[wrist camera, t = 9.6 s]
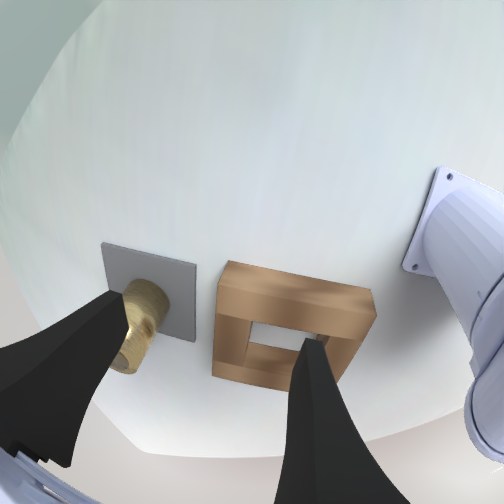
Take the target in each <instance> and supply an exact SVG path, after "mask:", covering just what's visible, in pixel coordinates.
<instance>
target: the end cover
mask: <svg viewBox="0 0 504 504" xmlns="http://www.w3.org/2000/svg"><path fill="white" fill-rule="evenodd" d="M121 294H122V296H123V301H124V306H125V311H126V315H127V320H128V324H129V331H128V333H127V336H126V338H125V340H124V342H123V344H122V347H121V349H120V350H119V352H118V354H117V355H116V357H115V359H114V360H113V362H112V364H111V365H110V368H112V369H114V370H116V371H118V372H121V373H124V374H134V373H135V372H136V371H137V369H138V368H139V366H140V364H141V362H142V360H143V358H144V356H145V354H146V352H147V350H148V348H149V347H150V345H151V343H152V341H153V339H154V337H155V335H156V333H157V332H158V330H159V328H160V326H161V324H162V322H163V321H164V319H165V317H166V315H167V313H168V312H169V309H170V301H169V299H168V297H167V295H166V293H165V292H164V291H163V290H162V289H161V288H160V287H159V286H158V285H156V284H155V283H153V282H151V281H149V280H145V279H135V280H132V281H131V282H130V283H129V284H128V286H127V287H126V288H125V289H124V291H123V292H122V293H121Z"/></svg>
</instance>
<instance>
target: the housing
mask: <svg viewBox="0 0 504 504" xmlns="http://www.w3.org/2000/svg"><path fill="white" fill-rule="evenodd" d="M376 317H377V314H376V310H375V305H374V301H373V298H372V294H371V290H370V289H366V288H361V287H356V286H351V285H346V284H341V283H336V282H331V281H326V280H321V279H316V278H311V277H306V276H301V275H296V274H291V273H286V272H282V271H277V270H272V269H267V268H262V267H257V266H253V265H248V264H243V263H238V262H234V261H228V263H227V265H226V267H225V269H224V272H223V274H222V276H221V278H220V280H219V283H218V287H217V301H216V315H215V330H214V346H213V363H212V376H215V377H219V378H223V379H227V380H231V381H235V382H240V383H244V384H249V385H254V386H259V387H264V388H269V389H274V390H280V391H286V392H289V388H290V381H291V375H292V370H293V367H294V365H295V363H296V360H297V358H298V355H299V353H300V352H298V351H292V350H287V349H281V348H276V347H271V346H266V345H261V344H256V343H252V342H249V338H250V333H251V328H252V323H253V321H255V322H260V323H264V324H269V325H274V326H279V327H284V328H289V329H294V330H300V331H305V332H311V333H317V334H318V336H317V339H316V340H320V341H322V342H323V343H324V347H325V351H326V354H327V357H328V361H329V364H330V367H331V370H332V373H333V375H334V378H335V381H336V384H337V382H338V381H339V379H340V378H341V376H342V374H343V373H344V371H345V370H346V368H347V367H348V365H349V363H350V362H351V360H352V359H353V357H354V355H355V354H356V352H357V350H358V349H359V347H360V345H361V343H362V342H363V340H364V338H365V337H366V335H367V333H368V331H369V329H370V328H371V326H372V324H373V322H374V320H375V318H376Z"/></svg>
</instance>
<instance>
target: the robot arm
mask: <svg viewBox="0 0 504 504" xmlns="http://www.w3.org/2000/svg"><path fill="white" fill-rule="evenodd" d="M449 173H450V174H451V176H450V178H449V179H447V175H448V174H449ZM415 264H417V265H416V267H413V265H415ZM402 266H403V268H404V270H405V271H407V272H412V273H416V274H420V275H425V276H429V277H434V278H437V279H438V281H439V283H440V285H441V286H442V288H443V290H444V292H445V294H446V296H447V298H448V299H449V301H450V303H451V305H452V307H453V309H454V311H455V313H456V315H457V317H458V319H459V321H460V323H461V325H462V327H463V330H464V332H465V334H466V336H467V338H468V341H469V343H470V345H471V347H472V350H473V356H472V359H471V361H470V363H469V364H470V366H471V369H472V372H473V374H474V377H475V380H474V382H473V383H472V385H471V386H470V388H469V390H468V393H467V396H466V399H465V404H464V418H465V424H466V429H467V431H468V434H469V437H470V439H471V441H472V442H473V444H474V446H475V447H476V448H477V449H478V451H479V452H481V453H482V454H483V455H484V456H485V457H487V458H489V459H491V460H493V461H497V462H500V463H504V194H502V193H500V192H498V191H497V190H495V189H493V188H491V187H489V186H487V185H485V184H483V183H481V182H478V181H476V180H474V179H472V178H470V177H468V176H466V175H463V174H461V173H459V172H456V171H454V170H452V169H449V168H447V167H445V166H440V167H438V168H437V170H436V173H435V177H434V180H433V183H432V186H431V189H430V192H429V196H428V199H427V201H426V204H425V207H424V210H423V213H422V216H421V218H420V221H419V224H418V226H417V229H416V232H415V234H414V237H413V239H412V242H411V244H410V247H409V249H408V251H407V254H406V256H405V258H404V261H403V264H402ZM128 331H129V324H128V320H127V315H126V311H125V306H124V301H123V296H122V294H121V293H118V292H115V291H112V290H109V291H107V292H105V293H104V294H102V295H100V296H99V297H97V298H96V299H94V300H92V301H91V302H89V303H88V304H86V305H85V306H83V307H81V308H80V309H78V310H77V311H75V312H73V313H72V314H70V315H69V316H67V317H65V318H64V319H62V320H60V321H59V322H57V323H55V324H53V325H52V326H50V327H48V328H46V329H45V330H43V331H41V332H39V333H37V334H35V335H33V336H30V337H29V338H26V339H24V340H21V341H19V342H16V343H14V344H11V345H9V346H6V347H3V348H0V504H71V503H72V504H102V503H100V502H98V501H96V500H94V499H92V498H91V497H89V496H87V495H85V494H83V493H81V492H80V491H78V490H76V489H75V488H73V487H71V486H70V485H68V484H67V483H65V482H63V481H62V480H60V479H59V478H57V477H56V476H54V475H53V474H51V473H49V472H48V471H47V470H45V469H44V468H43V467H41V466H40V465H39V464H37V462H38V460H39V459H41V460H42V461H43V462H45V463H47V462H48V460H49V459H51V460H52V461H54V462H56V463H57V464H58V465H60V466H61V467H63V468H67V467H70V466H71V461H72V456H73V451H74V446H75V443H76V439H77V436H78V432H79V429H80V426H81V423H82V421H83V418H84V415H85V412H86V410H87V408H88V405H89V403H90V400H91V398H92V396H93V394H94V392H95V390H96V388H97V387H98V385H99V383H100V382H101V380H102V378H103V377H104V375H105V373H106V372H107V370H108V368H109V367H110V365H111V364H112V362H113V360H114V359H115V357H116V355H117V354H118V352H119V350H120V349H121V347H122V344H123V342H124V340H125V338H126V336H127V333H128ZM43 485H44V486H46V487H47V488H49V489H50V490H52V491H53V492H55V493H56V494H58V495H59V496H61V497H62V498H61V497H59V496H58V495H55V494H54V493H52V492H50V491H48V490H46V489H44V486H43ZM63 498H64V499H63ZM66 500H67V501H66ZM69 502H70V503H69ZM274 504H410V502H409V501H408V500H407V499H406V498H405V497H404V496H403V495H402V494H401V493H400V492H399V490H398V489H397V488H396V487H395V486H394V485H393V484H392V482H391V481H390V480H389V478H388V477H387V476H386V475H385V473H384V472H383V471H382V469H381V468H380V466H379V465H378V463H377V462H376V460H375V459H374V457H373V456H372V455H371V453H370V452H369V450H368V448H367V447H366V445H365V443H364V442H363V440H362V438H361V436H360V434H359V433H358V431H357V429H356V427H355V425H354V423H353V421H352V419H351V417H350V415H349V413H348V410H347V408H346V406H345V404H344V401H343V399H342V396H341V394H340V391H339V389H338V386H337V384H336V381H335V378H334V375H333V373H332V370H331V367H330V364H329V361H328V357H327V354H326V351H325V347H324V343H323V342H322V341H320V340H314V339H308V338H305V341H304V343H303V346H302V348H301V351H300V353H299V355H298V358H297V360H296V363H295V365H294V367H293V370H292V375H291V381H290V388H289V395H288V414H287V433H286V447H285V455H284V460H283V465H282V470H281V475H280V480H279V484H278V489H277V493H276V497H275V501H274Z"/></svg>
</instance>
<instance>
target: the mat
mask: <svg viewBox="0 0 504 504" xmlns="http://www.w3.org/2000/svg"><path fill="white" fill-rule="evenodd" d="M101 249H102V255H103V261H104V267H105V272H106V277H107V282H108V287H109V290H112V291H115V292H118V293H122V292H123V291H124V289H125V288H126V287H127V286H128V284H129V283H130V282H131V281H132V280H135V279H145V280H149V281H151V282H153V283H155V284H156V285H158V286H159V287H160V288H161V289H162V290H163V291H164V292H165V293H166V295H167V297H168V299H169V301H170V309H169V312H168V313H167V315H166V317H165V319H164V321H163V322H162V324H161V326H160V328H159V330H158V332H159V333H163V334H166V335H169V336H173V337H176V338H180V339H183V340H187V341H190V342H194V343H195V340H196V264H192V263H188V262H184V261H179V260H175V259H171V258H166V257H162V256H158V255H153V254H149V253H145V252H141V251H137V250H133V249H128V248H124V247H120V246H116V245H112V244H108V243H104V242H103V243H102V244H101Z"/></svg>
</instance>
